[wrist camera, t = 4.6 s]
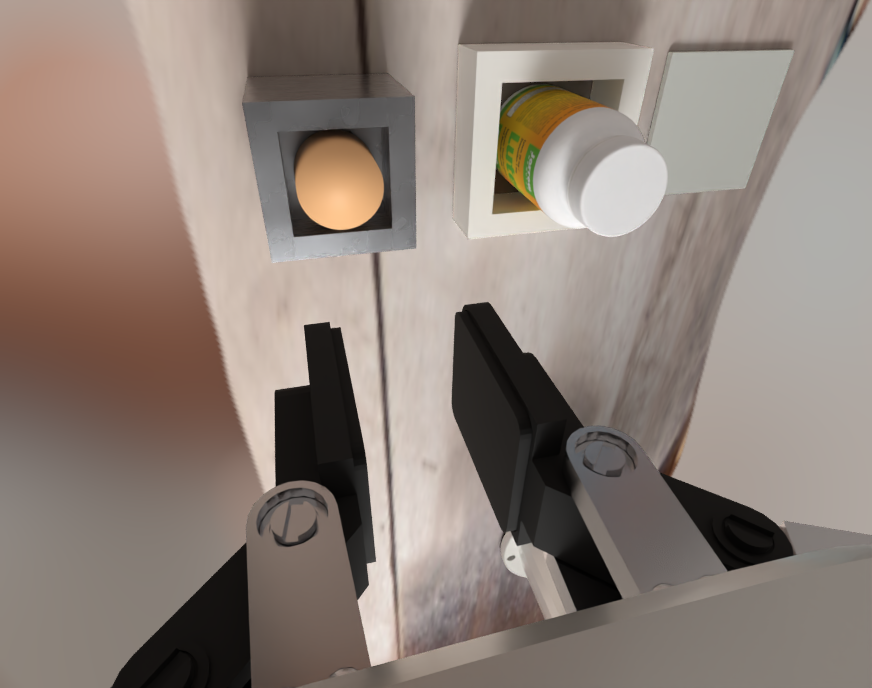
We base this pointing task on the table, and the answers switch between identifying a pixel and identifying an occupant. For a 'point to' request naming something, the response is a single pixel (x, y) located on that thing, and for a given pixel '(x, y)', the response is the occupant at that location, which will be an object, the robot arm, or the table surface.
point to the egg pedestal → (323, 110)
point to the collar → (480, 111)
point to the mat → (715, 115)
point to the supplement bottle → (579, 160)
